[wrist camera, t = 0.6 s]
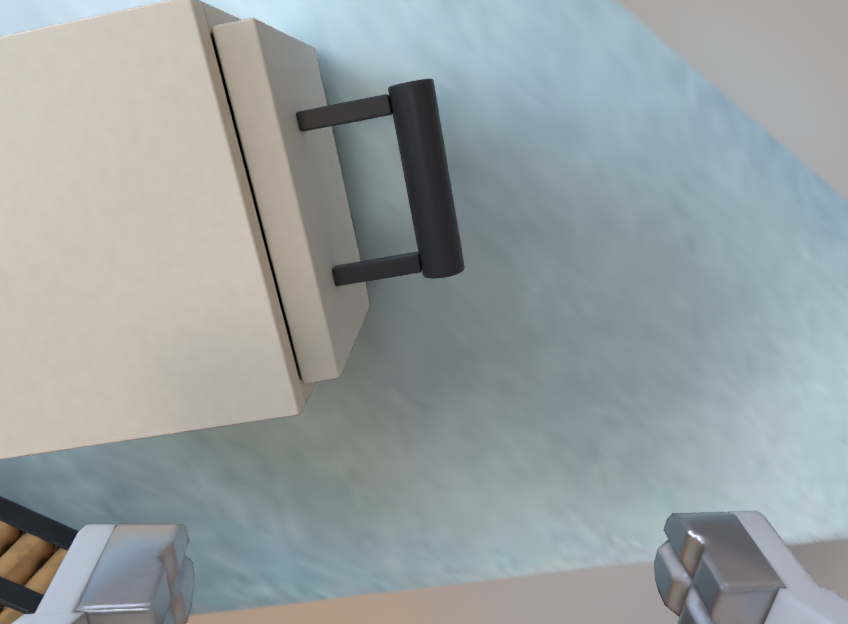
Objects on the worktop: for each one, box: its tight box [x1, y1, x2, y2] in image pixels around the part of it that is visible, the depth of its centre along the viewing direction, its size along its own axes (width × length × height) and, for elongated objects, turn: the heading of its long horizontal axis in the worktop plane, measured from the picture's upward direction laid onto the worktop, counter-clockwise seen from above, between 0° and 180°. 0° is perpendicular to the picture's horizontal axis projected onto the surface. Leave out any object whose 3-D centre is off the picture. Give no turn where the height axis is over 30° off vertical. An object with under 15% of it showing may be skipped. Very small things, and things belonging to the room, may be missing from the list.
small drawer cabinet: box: [0, 0, 316, 459], centre depth 22 cm, size 14×12×10 cm
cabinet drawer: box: [212, 18, 465, 384], centre depth 22 cm, size 17×10×8 cm, turn 100°
